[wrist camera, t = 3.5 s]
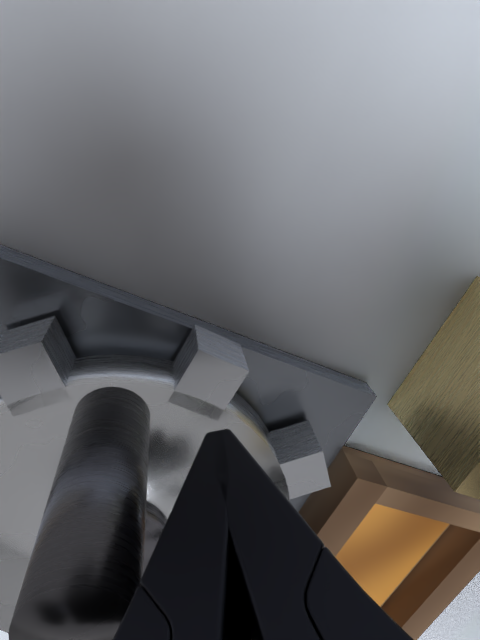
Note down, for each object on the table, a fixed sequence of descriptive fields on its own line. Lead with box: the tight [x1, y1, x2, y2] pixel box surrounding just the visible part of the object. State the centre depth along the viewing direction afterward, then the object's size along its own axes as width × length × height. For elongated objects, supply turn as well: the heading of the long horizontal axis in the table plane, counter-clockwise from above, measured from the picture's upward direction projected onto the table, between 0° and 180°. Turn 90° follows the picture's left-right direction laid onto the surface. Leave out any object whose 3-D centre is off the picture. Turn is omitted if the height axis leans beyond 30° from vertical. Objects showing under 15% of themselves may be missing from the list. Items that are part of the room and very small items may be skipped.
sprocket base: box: [0, 245, 377, 512], centre depth 14 cm, size 12×12×1 cm
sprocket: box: [0, 316, 331, 640], centre depth 11 cm, size 12×12×6 cm
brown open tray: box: [298, 446, 480, 640], centre depth 17 cm, size 7×9×2 cm
